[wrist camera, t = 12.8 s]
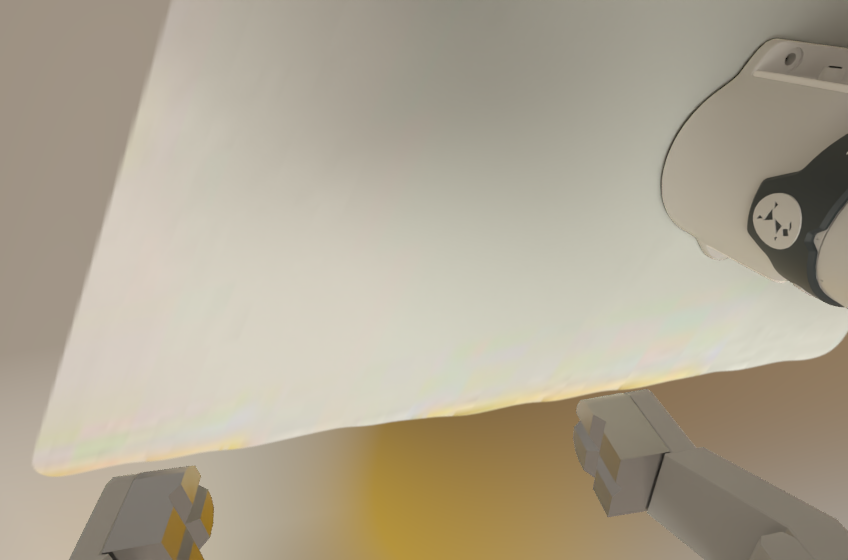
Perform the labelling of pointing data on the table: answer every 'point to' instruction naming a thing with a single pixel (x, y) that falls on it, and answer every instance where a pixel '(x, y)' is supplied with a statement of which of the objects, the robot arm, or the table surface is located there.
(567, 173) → the table surface
